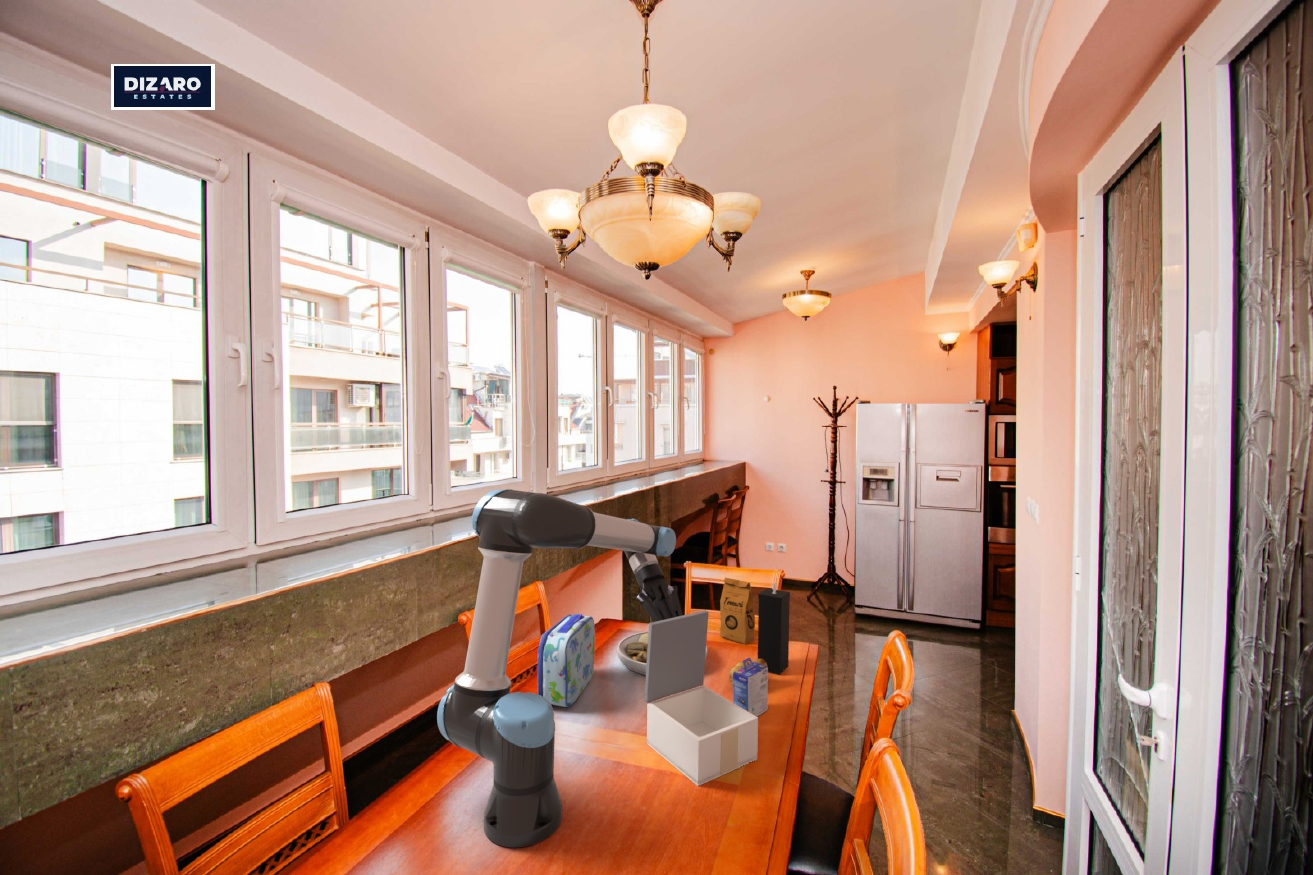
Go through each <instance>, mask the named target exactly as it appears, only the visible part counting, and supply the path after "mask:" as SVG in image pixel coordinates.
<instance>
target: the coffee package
mask: <svg viewBox="0 0 1313 875" xmlns="http://www.w3.org/2000/svg"><path fill="white" fill-rule="evenodd" d="M723 582H724V583H723V589H722V592H721V597H720V600H719V602H720V605H719V606H720V608H719V609H720V613H719V616H720V619H719V621H720V627H719V629H720V630H719V637H721V638H724V639H728V640H731V641H733V642H735V643H739V644H742V645H745V646H746V645H747V644H750V643H752V641H753V642H754V641H755V634H756V615H755V602H754V601H755V600H754V596H753V590H752V587H751V583H750V582H747V581H743V580H739V579H736V578H735V579H734V578H729V577H724V579H723Z"/></svg>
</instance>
